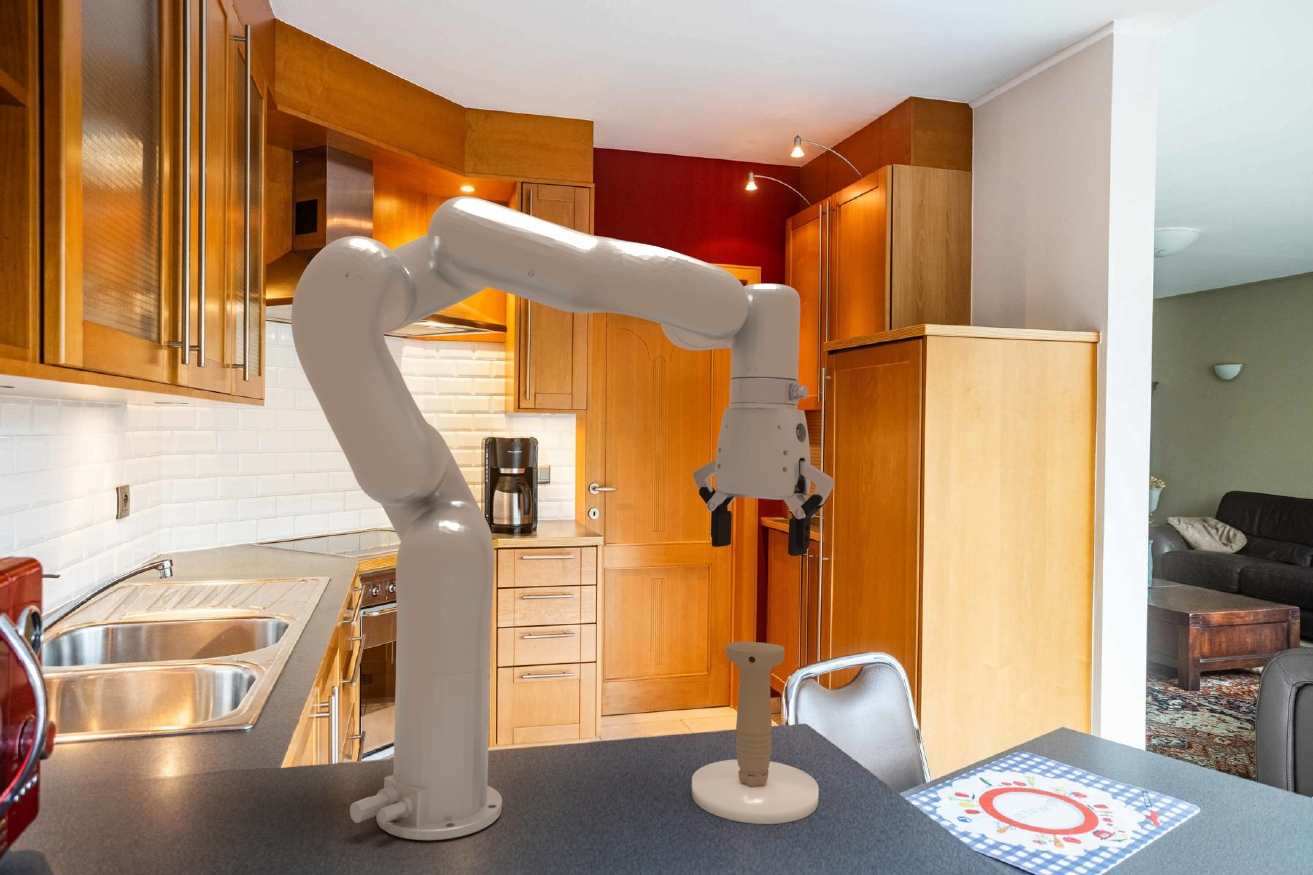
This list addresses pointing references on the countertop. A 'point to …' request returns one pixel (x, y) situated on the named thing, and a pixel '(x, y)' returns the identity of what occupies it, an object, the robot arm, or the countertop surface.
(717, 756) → the countertop surface
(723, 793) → the plate
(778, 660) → the handle
